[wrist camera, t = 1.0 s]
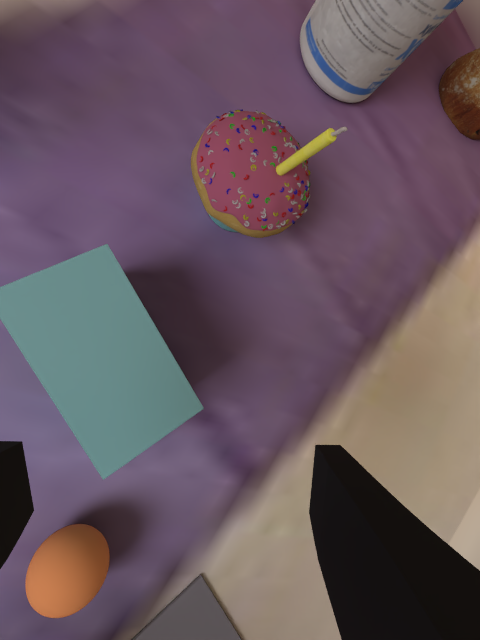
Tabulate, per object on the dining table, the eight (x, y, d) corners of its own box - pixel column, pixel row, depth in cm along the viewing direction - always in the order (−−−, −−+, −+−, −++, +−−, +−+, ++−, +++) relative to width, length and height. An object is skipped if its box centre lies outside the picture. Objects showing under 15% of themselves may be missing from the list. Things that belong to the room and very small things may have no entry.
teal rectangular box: (104, 446, 20) (103, 479, 15) (20, 313, 19) (-16, 293, 14) (179, 396, 23) (203, 408, 17) (106, 274, 22) (107, 243, 16)
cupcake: (293, 219, 28) (412, 128, 17) (228, 276, 25) (323, 211, 14) (231, 136, 27) (318, -20, 16) (154, 187, 24) (195, 37, 13)
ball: (57, 601, 18) (45, 661, 15) (20, 546, 18) (-2, 593, 14) (121, 548, 20) (125, 591, 16) (88, 497, 20) (84, 528, 16)
